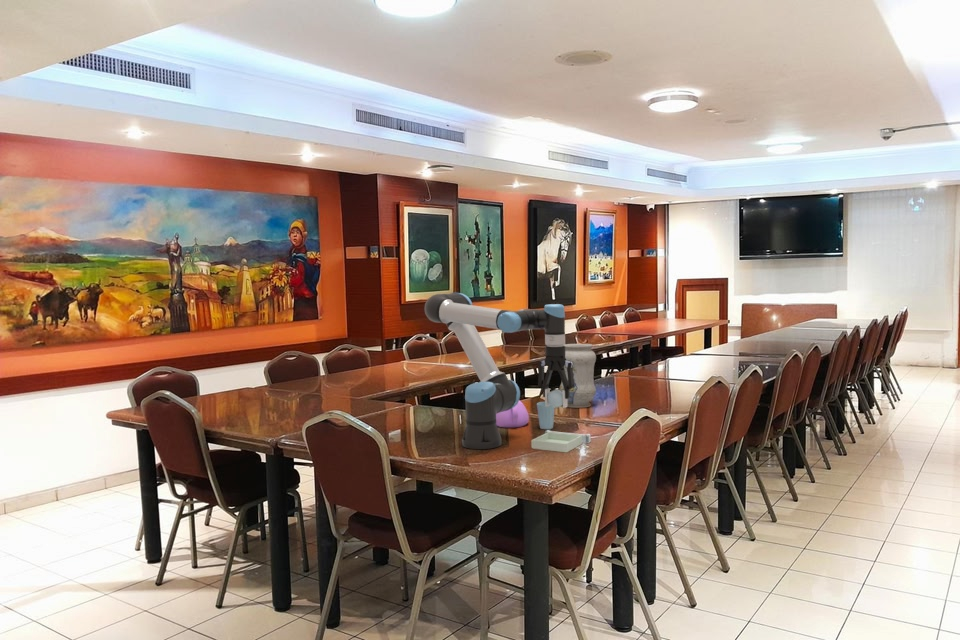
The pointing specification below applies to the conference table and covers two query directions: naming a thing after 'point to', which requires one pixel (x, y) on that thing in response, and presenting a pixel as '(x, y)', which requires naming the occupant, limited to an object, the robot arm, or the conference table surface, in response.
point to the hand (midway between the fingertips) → (556, 406)
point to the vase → (580, 374)
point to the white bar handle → (584, 437)
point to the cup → (545, 415)
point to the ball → (555, 398)
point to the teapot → (513, 417)
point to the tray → (556, 442)
